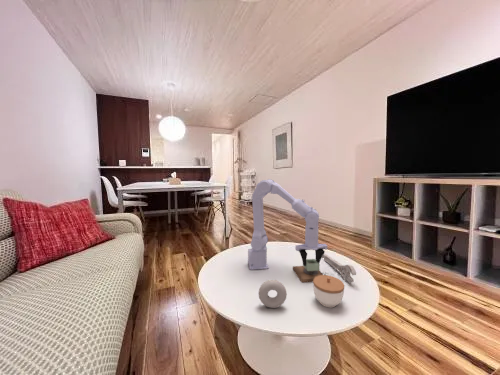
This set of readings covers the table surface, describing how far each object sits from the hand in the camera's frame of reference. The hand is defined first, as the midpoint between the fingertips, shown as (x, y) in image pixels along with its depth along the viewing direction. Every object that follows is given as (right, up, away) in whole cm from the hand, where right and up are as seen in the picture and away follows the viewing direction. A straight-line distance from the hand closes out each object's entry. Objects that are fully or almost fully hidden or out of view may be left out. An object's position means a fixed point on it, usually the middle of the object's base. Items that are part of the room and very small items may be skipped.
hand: (310, 264), depth 98 cm
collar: (0, -2, 0) cm, 2 cm away
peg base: (-1, -5, 0) cm, 5 cm away
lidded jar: (+1, -7, -20) cm, 21 cm away
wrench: (+13, -5, +5) cm, 15 cm away
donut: (-20, -7, -22) cm, 31 cm away
